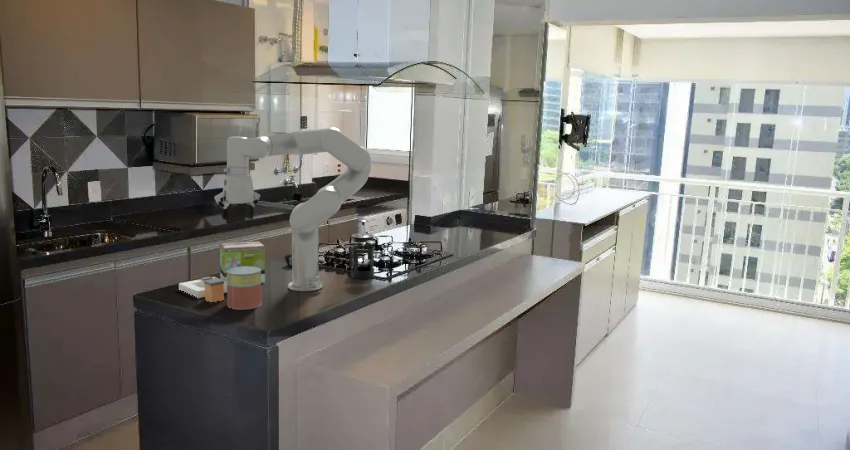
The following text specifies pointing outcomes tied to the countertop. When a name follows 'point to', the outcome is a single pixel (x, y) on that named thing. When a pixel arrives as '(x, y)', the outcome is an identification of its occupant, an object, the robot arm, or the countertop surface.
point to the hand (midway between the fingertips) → (237, 218)
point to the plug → (214, 290)
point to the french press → (362, 271)
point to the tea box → (242, 257)
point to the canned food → (244, 287)
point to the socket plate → (198, 287)
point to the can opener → (289, 261)
